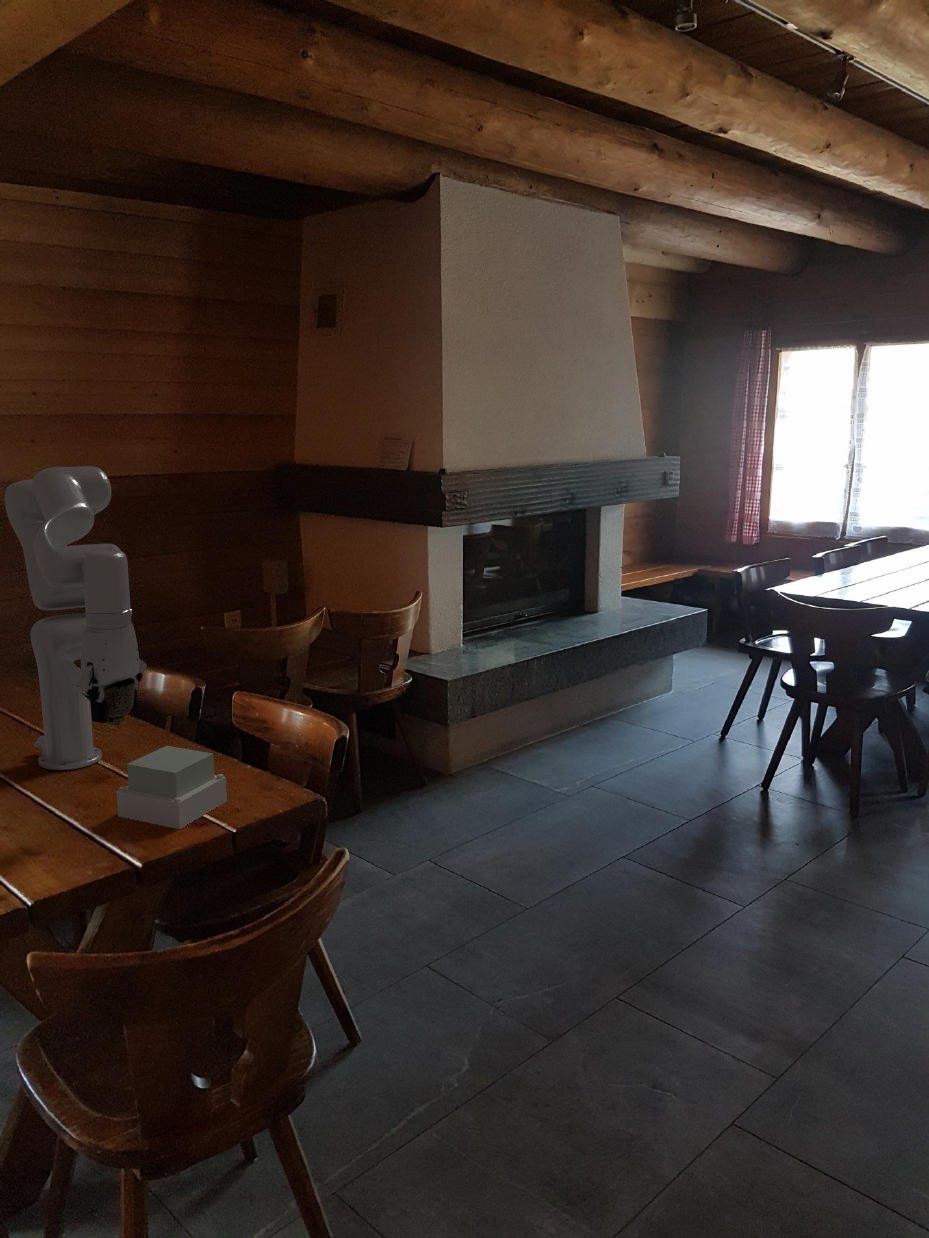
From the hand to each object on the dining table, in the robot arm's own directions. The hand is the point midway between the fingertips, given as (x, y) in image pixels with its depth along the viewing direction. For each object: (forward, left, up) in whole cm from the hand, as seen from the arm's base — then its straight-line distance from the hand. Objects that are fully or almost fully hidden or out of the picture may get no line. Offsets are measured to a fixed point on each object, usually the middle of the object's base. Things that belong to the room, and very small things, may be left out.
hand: (115, 715), depth 177 cm
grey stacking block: (+6, +7, -20) cm, 22 cm away
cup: (0, 0, -2) cm, 2 cm away
